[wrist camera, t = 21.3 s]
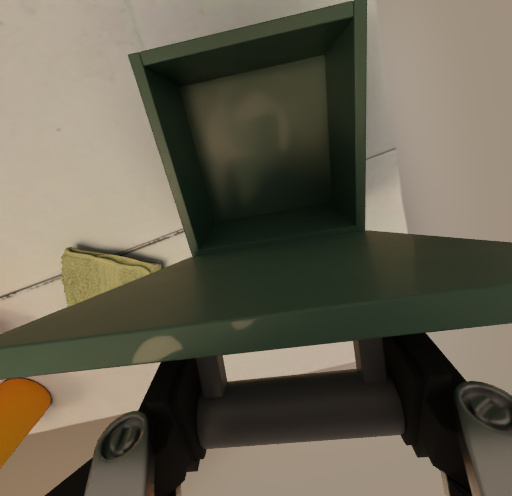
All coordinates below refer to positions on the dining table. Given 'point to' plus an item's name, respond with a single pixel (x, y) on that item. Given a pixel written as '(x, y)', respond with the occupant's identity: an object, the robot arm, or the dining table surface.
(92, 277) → the washcloth
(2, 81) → the dining table surface
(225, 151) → the chest
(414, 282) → the lid
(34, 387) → the beer bottle
